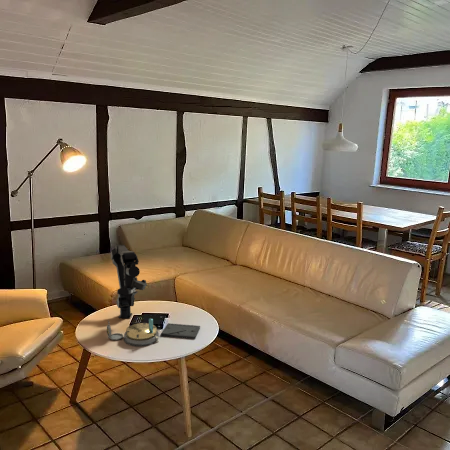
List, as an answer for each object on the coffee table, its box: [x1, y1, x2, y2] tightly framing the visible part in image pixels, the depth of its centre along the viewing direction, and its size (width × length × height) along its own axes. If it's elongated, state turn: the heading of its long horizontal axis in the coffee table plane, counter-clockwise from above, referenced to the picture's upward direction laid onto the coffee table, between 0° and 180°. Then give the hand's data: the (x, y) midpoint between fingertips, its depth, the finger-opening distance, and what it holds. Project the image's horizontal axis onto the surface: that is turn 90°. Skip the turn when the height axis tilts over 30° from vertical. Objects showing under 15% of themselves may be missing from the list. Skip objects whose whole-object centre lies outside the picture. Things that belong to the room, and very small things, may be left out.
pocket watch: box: [106, 320, 124, 341], centre depth 225 cm, size 8×8×10 cm
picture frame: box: [160, 323, 201, 340], centre depth 234 cm, size 13×2×18 cm
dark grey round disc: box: [123, 330, 160, 347], centre depth 226 cm, size 17×18×3 cm
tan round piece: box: [125, 317, 158, 341], centre depth 225 cm, size 15×15×10 cm
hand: (130, 305), depth 236 cm, fingers closed
